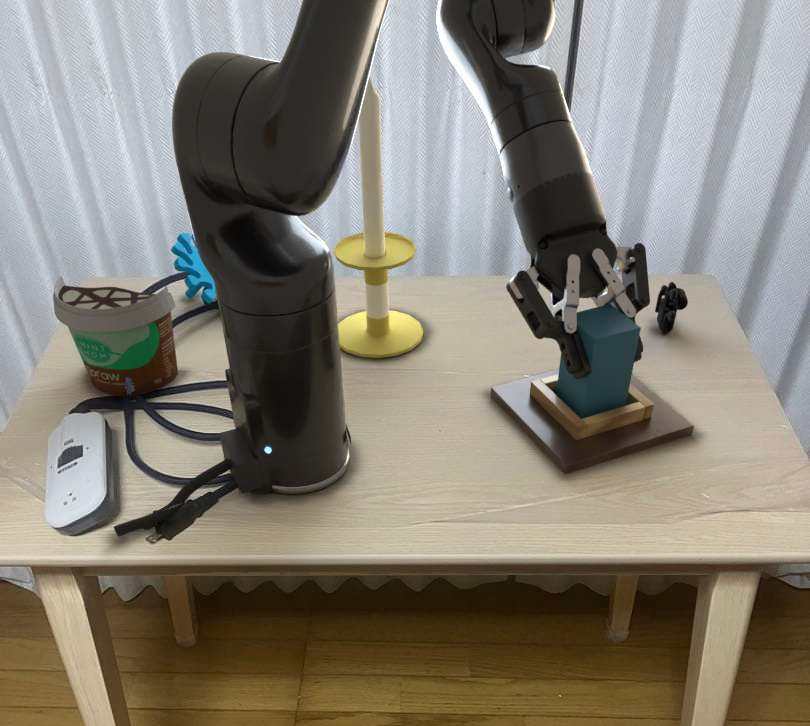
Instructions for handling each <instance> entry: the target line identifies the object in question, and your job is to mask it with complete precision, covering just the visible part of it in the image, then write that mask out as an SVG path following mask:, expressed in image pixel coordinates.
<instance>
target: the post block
mask: <svg viewBox="0 0 810 726" xmlns="http://www.w3.org/2000/svg"><path fill="white" fill-rule="evenodd" d="M641 330H642V329H641V326H640V325H638V324H637V322H636V323H634V322H633V321H632V320H630V319H629V318H628V317H627V316H625V315H624V314H623V313H621V312H620V311H619V310H618V309H616V308H615V307H614V306H612V305H611V304H607V305H603V306H600V307H597V306H596V307H592V308H587V309H583V310H580V311H577V330H576V331H575V332H576V334H577V333H580V335H581V338H582V342H583V345H584V348H585V351H586V354H587V357H588V360H589V364H590V367H591V369H592V371H591V373H590V374H589V375H587V376H585V377H583V378H579V379H575V378H574V376H573V374H569V372H568V371H567V370H566V366H565V363H564V360H563V357H562V354H561V353H560V360H559V367H558V369H559V375H558V383H557V391H556V395H557V396H558V397H559V398H560V399H561V400H562V401H563V402H564V403H565V404H566V405H567V406H568V407H569V408H570V409H571V410H572V411H573V412H574V413H575V414H577V415H578V416H579V417H580V418H581V419H583V418H586V417H590V416H593V415H597V414H600V413H603V412H607V411H610V410H613V409H617V408H620V407H623V406H626V402H627V397H628V392H629V387H630V381H631V376H632V374H633V370H634V365H635V363H634V359H635V355H636V350H637V345H638V340H639V334H641Z"/></svg>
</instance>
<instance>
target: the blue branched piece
mask: <svg viewBox="0 0 810 726" xmlns="http://www.w3.org/2000/svg"><path fill="white" fill-rule="evenodd" d="M176 240H177V241H176V242H175V243H174V245H172V247H171V248H170V252H171V253H172V254H173V255H175V256H177V258H176V259H175V260H174V262H173V266H174V270H176V271H177V272H181V273H182V272H184V273H187V274H188V275H187V276H186V277H185V278H184V279H183V280H184V281H183V282H184V284H185V285H186V287H187V289H186V290H185V292H184V295H185V296H186V297H187V298H188V299H191V300H192V299H193V298H194V297H195V296H196V295H197V294H198V292H199V291H200V290H201V289H202V288H203V287H204V288H206V289H205V290H204V291H202V293H201V294H200V298H201V299H202V300H203V301H204V302H206V303H207V304H211V303H212V302H213V300H215V298H216V296H215V294H216V290H215V285H214V281H213V278H212V276H211V275H210V273H209V272H208V270H207V269H206V267H205V266H204V264H203V262H202V260H201V258H200V256H199V253H198V250H197V247H196V243H195V239H194V235H193V233H192V234H191V235H190V234H189V233H187V232H181V233H179V235H178V236H177V238H176ZM192 242H193V245H192Z"/></svg>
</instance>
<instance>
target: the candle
mask: <svg viewBox="0 0 810 726" xmlns="http://www.w3.org/2000/svg"><path fill="white" fill-rule="evenodd" d="M381 116H382V115H381V96H380V93H379V92H377V90H376V88H375V87H374V84H373V80H372V78H371V73H370V74H369V78H368V82H367V86H366V90H365V94H364V98H363V102H362V106H361V110H360V114H359V118H358V122H357V128H358V129H357V130H358V131H357V132H358V148H359V149H358V150H359V151H358V152H359V168H360V170H359V171H360V188H361V190H360V191H361V207H362V209H361V210H362V226H363V227H362V228H363V232H358V233H356V234H353V235H352V234H351V235H349V236H346V237H344V238H343V239H341V240H339V241H338V242H337V243H336V245H335V247H334V248H333V254H334V256H335V259H336V261H337V262H338V263H340V264H341V265H343V266H345V267H346V268H349V269H354V270H357V271H363V282H364V300H365V311H360V312H357V313H355V314H351V315H349V316H346V317H345V318H344V319H342V320H340V322H338V328H339V341H340V350H342V351H344V352H345V353H348V354H351V355H354V356H357V357H361V358H369V359H370V358H372V359H373V358H374V359H382V358H390V357H396V356H400V355H402V354H404V353H405V354H406V353H408V352H410V351H412V350H413V349H415V347H417V346H418V345H419V344H420V343H421V342H422V340H423V336H424V329H423V327H422V325H421V323H420V321H419V320H417V319H416V318H415V317H413V316H411V315H409V314H407V313H403V312H400V311H396V310H390V301H389V297H390V296H389V272H388V271H389V270H392V269H396V268H398V267H402V266H405V265H406V264H407V263H409V262H410V261H412V260H413V259H414V257H415V254H416V251H417V247H416V245H415V244H414V241H413V240H411V239H410V238H408V237H406V236H405V235H403V234H399V233H395V232H391V231H389V232H388V231H385V209H384V207H385V206H384V180H383V179H384V178H383V174H384V173H383V152H382V151H383V148H382V146H383V145H382V119H381V118H382V117H381Z"/></svg>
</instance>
